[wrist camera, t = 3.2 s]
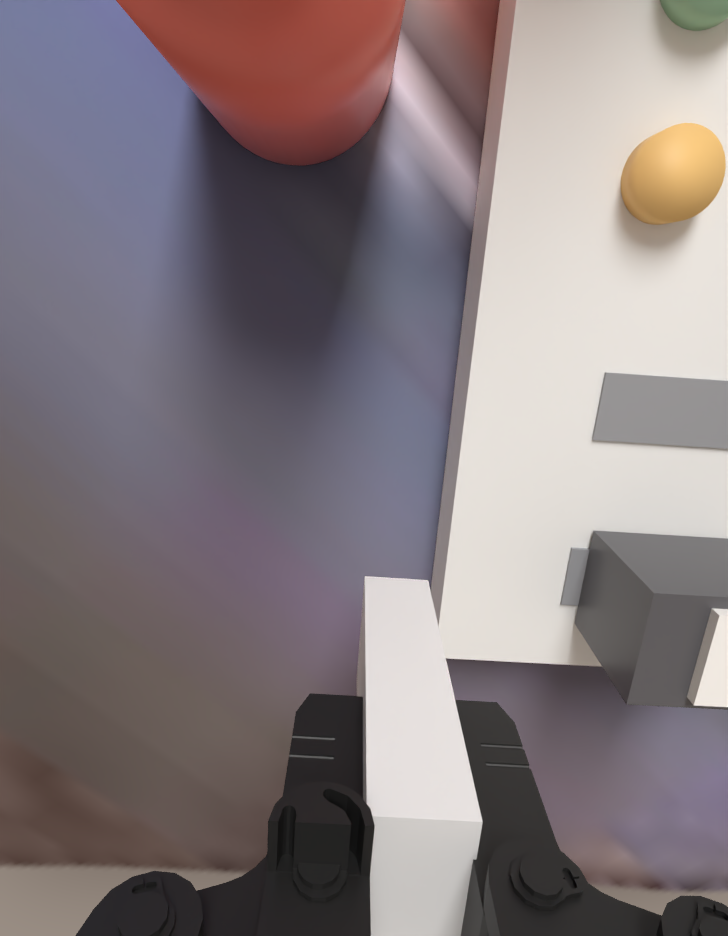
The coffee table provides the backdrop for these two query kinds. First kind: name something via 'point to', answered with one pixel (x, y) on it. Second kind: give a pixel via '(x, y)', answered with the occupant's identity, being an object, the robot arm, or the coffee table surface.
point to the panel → (587, 316)
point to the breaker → (658, 617)
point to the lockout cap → (281, 67)
